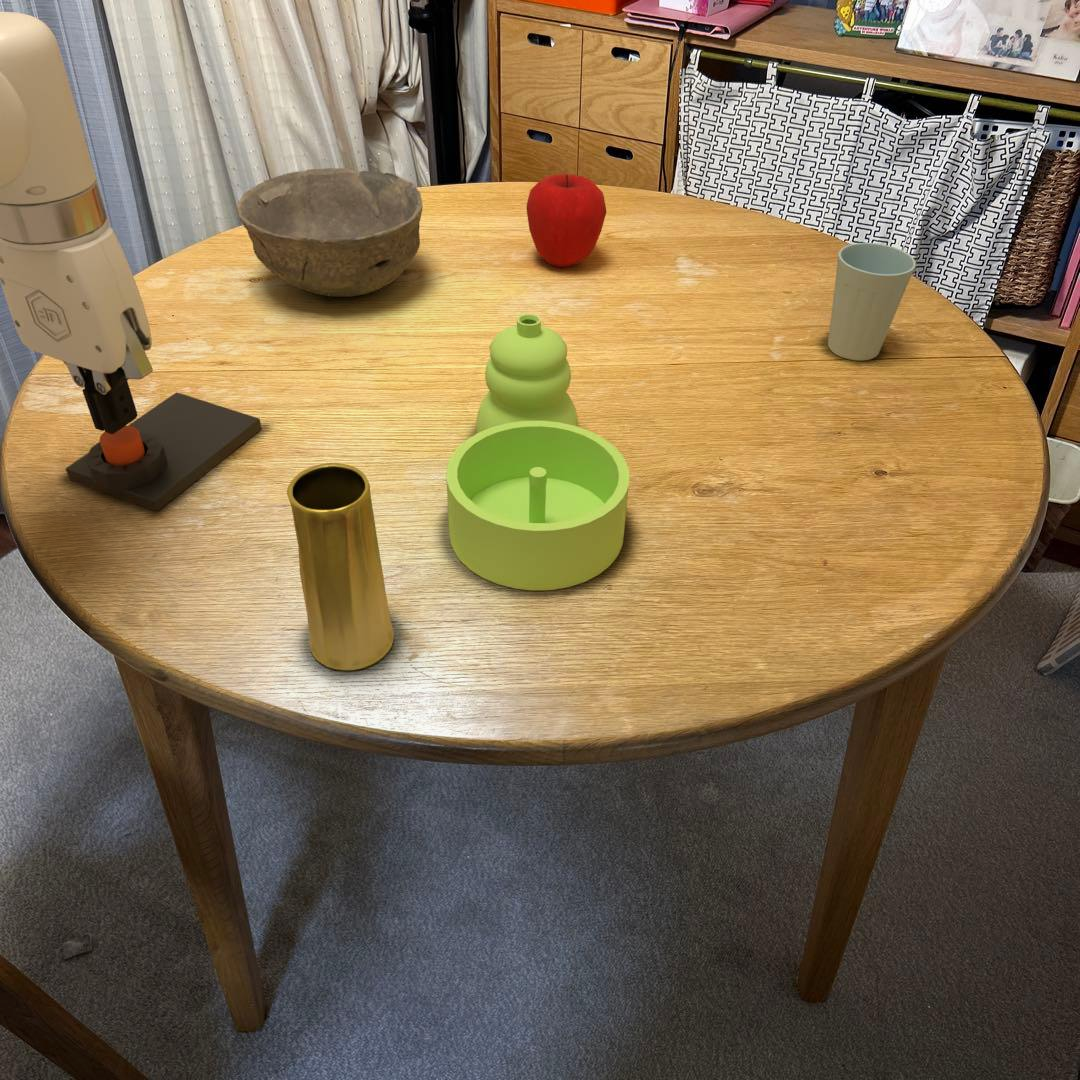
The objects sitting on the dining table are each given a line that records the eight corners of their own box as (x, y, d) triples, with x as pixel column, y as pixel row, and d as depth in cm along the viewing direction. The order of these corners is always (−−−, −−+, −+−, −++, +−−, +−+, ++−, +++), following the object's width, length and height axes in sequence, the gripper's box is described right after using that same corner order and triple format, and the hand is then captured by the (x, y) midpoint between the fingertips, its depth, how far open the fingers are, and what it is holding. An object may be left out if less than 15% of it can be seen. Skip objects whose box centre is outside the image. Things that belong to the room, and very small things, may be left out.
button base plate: (152, 515, 81) (144, 487, 79) (64, 482, 84) (53, 454, 82) (262, 429, 91) (256, 402, 89) (179, 402, 94) (172, 375, 92)
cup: (816, 360, 103) (838, 268, 96) (817, 327, 108) (838, 238, 102) (889, 370, 102) (917, 278, 95) (886, 336, 107) (913, 247, 100)
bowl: (283, 340, 104) (268, 251, 97) (230, 265, 117) (213, 183, 110) (457, 299, 111) (454, 215, 105) (388, 234, 125) (382, 156, 118)
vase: (363, 599, 74) (341, 447, 64) (411, 643, 70) (396, 489, 61) (293, 637, 71) (261, 483, 61) (340, 685, 67) (313, 530, 58)
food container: (635, 587, 75) (650, 456, 67) (449, 593, 74) (442, 462, 66) (598, 411, 94) (606, 293, 86) (449, 414, 93) (443, 295, 85)
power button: (126, 470, 81) (119, 450, 80) (97, 460, 82) (90, 440, 81) (153, 450, 83) (147, 431, 82) (125, 441, 84) (118, 421, 83)
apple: (604, 279, 116) (610, 190, 109) (525, 277, 116) (526, 188, 109) (601, 245, 124) (606, 159, 117) (526, 243, 124) (527, 157, 117)
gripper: (-71, 209, 69) (16, 423, 81) (87, 251, 64) (154, 472, 76) (14, 174, 74) (84, 380, 86) (166, 211, 69) (217, 424, 81)
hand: (117, 423), depth 81 cm, fingers closed
